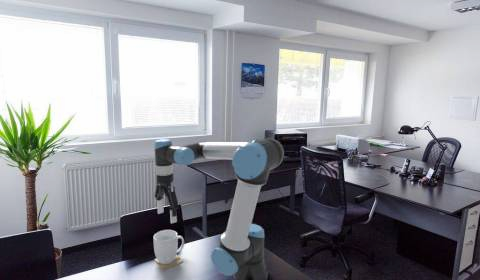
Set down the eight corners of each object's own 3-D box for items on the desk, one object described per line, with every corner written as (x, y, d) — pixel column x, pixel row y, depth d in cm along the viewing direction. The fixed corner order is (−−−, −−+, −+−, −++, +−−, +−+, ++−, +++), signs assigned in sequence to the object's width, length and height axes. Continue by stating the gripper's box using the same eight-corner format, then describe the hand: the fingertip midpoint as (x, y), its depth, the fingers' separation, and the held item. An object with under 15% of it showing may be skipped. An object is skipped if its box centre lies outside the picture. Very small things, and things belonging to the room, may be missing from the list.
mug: (178, 249, 152) (178, 225, 150) (189, 258, 144) (189, 233, 142) (150, 259, 143) (149, 234, 141) (160, 270, 135) (159, 243, 132)
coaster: (183, 262, 142) (183, 260, 142) (163, 270, 136) (163, 268, 136) (173, 253, 150) (173, 251, 150) (154, 260, 144) (154, 259, 144)
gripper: (185, 178, 128) (187, 224, 132) (160, 166, 147) (162, 207, 151) (169, 181, 123) (171, 229, 127) (145, 169, 143) (148, 211, 146)
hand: (167, 217), depth 139 cm, fingers open, 13 cm apart
